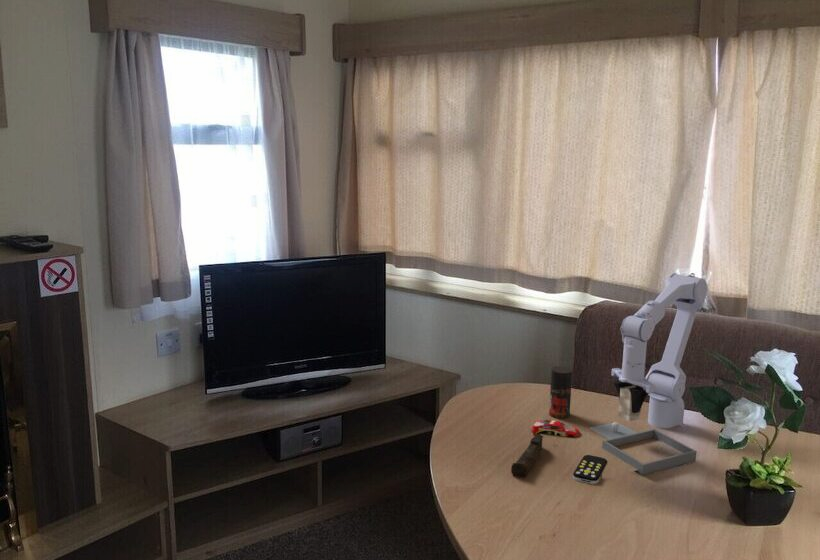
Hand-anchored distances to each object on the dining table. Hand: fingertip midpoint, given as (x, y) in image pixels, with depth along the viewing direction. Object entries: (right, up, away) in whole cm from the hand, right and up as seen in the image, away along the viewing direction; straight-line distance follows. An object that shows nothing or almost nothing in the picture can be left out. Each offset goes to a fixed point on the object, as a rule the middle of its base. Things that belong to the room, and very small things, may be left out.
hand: (629, 409), depth 197 cm
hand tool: (-29, -12, -8) cm, 33 cm away
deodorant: (-15, -6, +18) cm, 25 cm away
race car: (-19, -9, +7) cm, 22 cm away
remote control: (-14, -14, -13) cm, 24 cm away
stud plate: (-2, -9, +7) cm, 11 cm away
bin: (+3, -11, -5) cm, 13 cm away
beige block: (0, -2, +1) cm, 2 cm away
